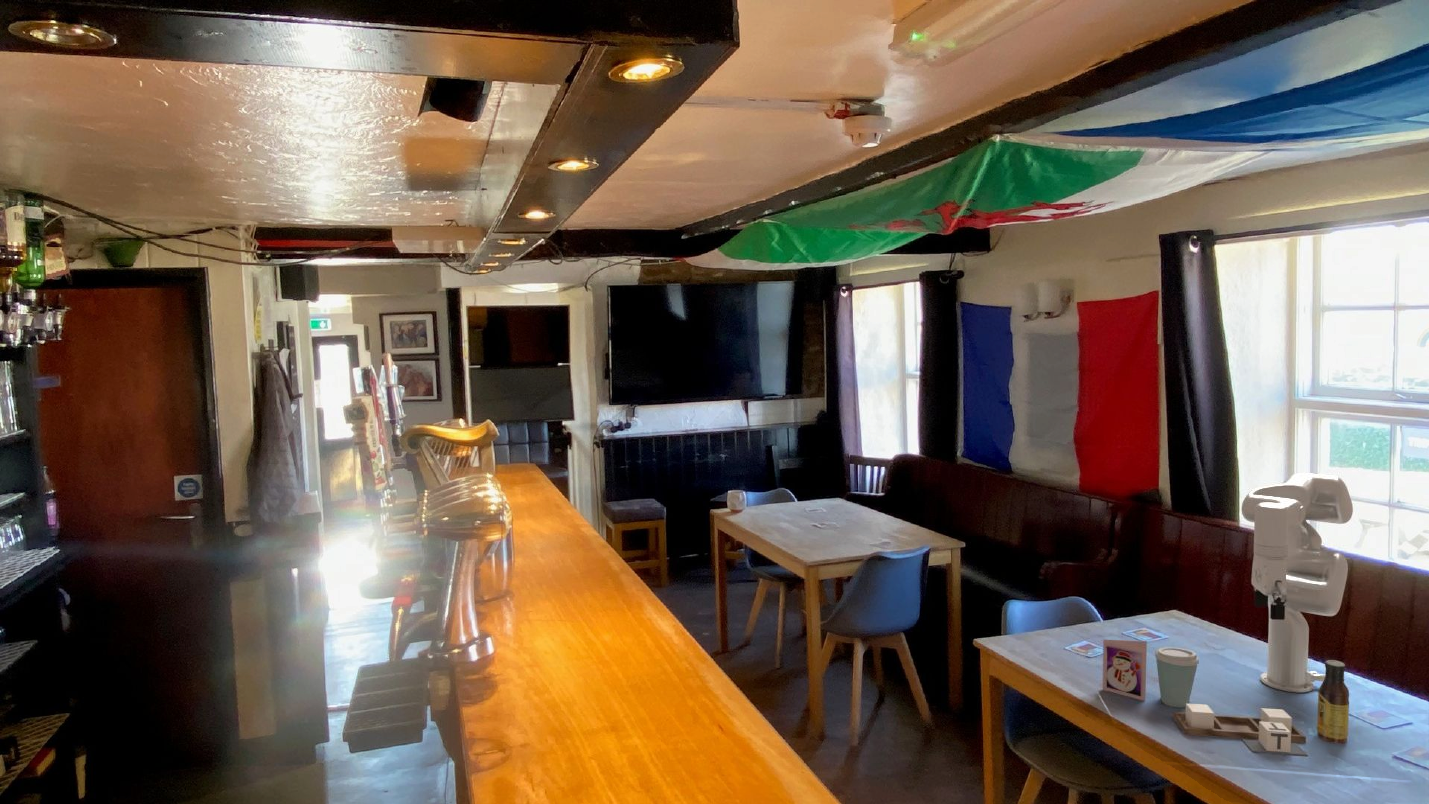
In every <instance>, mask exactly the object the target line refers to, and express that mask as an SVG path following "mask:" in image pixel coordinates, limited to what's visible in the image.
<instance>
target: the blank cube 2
mask: <svg viewBox="0 0 1429 804" xmlns="http://www.w3.org/2000/svg"><path fill="white" fill-rule="evenodd" d="M1260 718H1261V722H1274V723H1282V724H1283V725H1284V726H1285V727H1286V728H1287V729H1288V730H1289V731H1290V732H1291V728H1292V724H1293V718H1292V717H1291V716H1290V715H1289V714H1288V712H1286V711H1285V709H1283V708H1282V709H1279V708H1278V709H1277V708H1263V707H1262V708H1260Z"/></svg>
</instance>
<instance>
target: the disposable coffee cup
mask: <svg viewBox="0 0 1429 804" xmlns="http://www.w3.org/2000/svg"><path fill="white" fill-rule="evenodd" d="M1154 657H1155V659H1156V666H1157V678H1158V683H1159V684H1158V685H1159V693H1160V694H1159V695H1160V701H1161V702H1162V703H1163V704H1164V705H1167V706H1170V707H1174V708H1186V703H1188V704H1190V699H1191V695H1192V690H1193V687H1194V686H1193V685H1194V681H1195V676H1196V671H1197V668H1198V665H1199V664H1200V663H1199V657H1198V655H1197V653H1196V652H1195V651H1193V650H1190V649H1186V648H1182V647H1173V646H1172V647H1171V646H1170V647H1160V648H1158V649H1157V650H1155V653H1154Z"/></svg>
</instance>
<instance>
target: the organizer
mask: <svg viewBox="0 0 1429 804" xmlns="http://www.w3.org/2000/svg"><path fill="white" fill-rule="evenodd" d="M1172 718H1173V719H1174V721H1175V722H1176V724H1177V726H1178V727H1179V728H1180V729H1181V732H1182V733H1184V735H1189V736H1199V737H1200V736H1202V737H1213V738H1214V737H1216V738H1217V737H1218V738H1230V739H1246V740H1259V721H1260V722H1261V717H1255V716H1254V717H1252V716H1243V715H1242V716H1240V715H1228V714H1227V715H1224V714H1214V729H1205V728H1190V727H1189V726H1188V725H1187V723H1186V722H1185V720H1186V712H1181V711H1180V712H1178V711H1173V712H1172ZM1291 743H1301V744H1303V743H1304V744H1306V743H1307V736H1306V735H1305V734H1304V733H1302V731H1301V730H1299V728H1297V727H1296V725H1295V724H1293V723H1292V728H1291Z"/></svg>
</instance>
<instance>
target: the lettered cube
mask: <svg viewBox="0 0 1429 804" xmlns="http://www.w3.org/2000/svg"><path fill="white" fill-rule="evenodd" d="M1259 742H1260V743H1261V744H1262V746H1263V747H1264V748H1265V749H1266V750H1267V751H1277V752H1290V747H1291V743H1292V742H1291V732H1290V731H1289V730H1288V729H1287V728H1286V727H1285V726H1284V725H1283V724H1282V723H1274V722H1260V721H1259Z"/></svg>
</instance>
